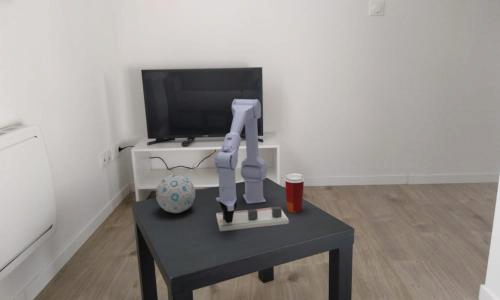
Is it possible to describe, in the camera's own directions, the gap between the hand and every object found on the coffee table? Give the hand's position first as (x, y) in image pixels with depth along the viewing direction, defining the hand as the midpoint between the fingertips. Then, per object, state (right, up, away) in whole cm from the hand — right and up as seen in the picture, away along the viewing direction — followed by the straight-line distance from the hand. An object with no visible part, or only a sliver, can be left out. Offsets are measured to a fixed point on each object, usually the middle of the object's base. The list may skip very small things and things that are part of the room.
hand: (228, 221), depth 133 cm
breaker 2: (+8, +1, +4) cm, 9 cm away
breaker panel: (+8, -1, +7) cm, 10 cm away
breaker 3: (+17, +1, +5) cm, 18 cm away
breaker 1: (-1, +1, +4) cm, 5 cm away
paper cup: (+25, +2, +14) cm, 29 cm away
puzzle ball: (-21, +1, +16) cm, 27 cm away
